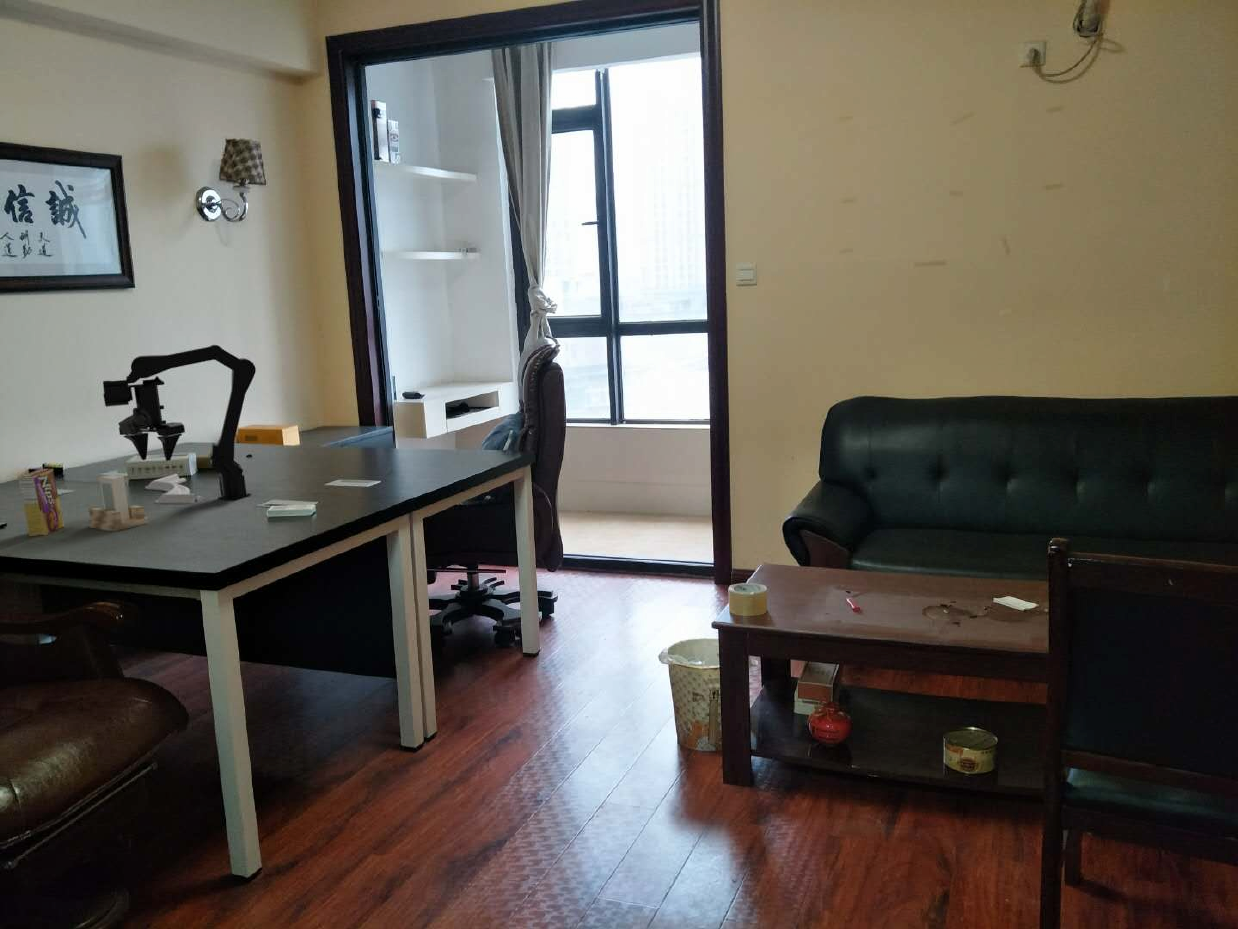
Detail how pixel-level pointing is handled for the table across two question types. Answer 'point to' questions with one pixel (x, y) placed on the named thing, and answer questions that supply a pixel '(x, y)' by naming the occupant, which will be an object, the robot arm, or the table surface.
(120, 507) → the grey upright slab
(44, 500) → the candy box
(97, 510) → the stand
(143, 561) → the table surface
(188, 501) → the molding
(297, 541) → the table surface
